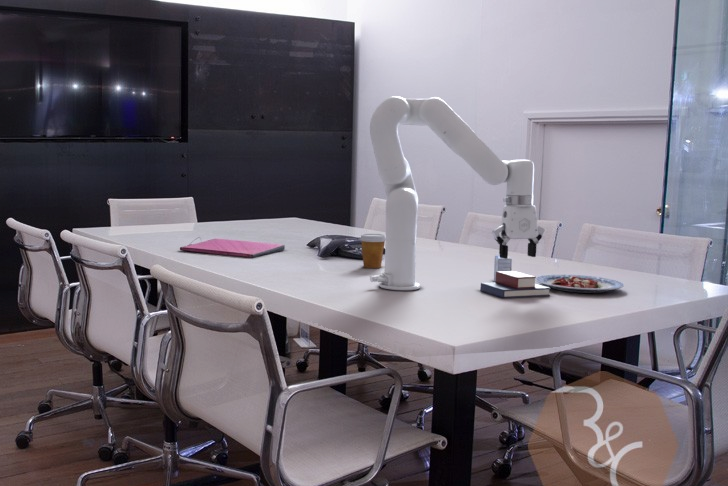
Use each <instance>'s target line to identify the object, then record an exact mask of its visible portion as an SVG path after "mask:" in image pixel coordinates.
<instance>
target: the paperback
mask: <svg viewBox="0 0 728 486" xmlns="http://www.w3.org/2000/svg"><path fill="white" fill-rule="evenodd" d="M536 277H537V276H535V275H531V274H528V273H524V272H519V271H516V270H512V271H498V272H496V280H495V281H494V282H495V283H498V284H502V285H505V286H508V287H512V288H515V289H527V288H535V284H536V281H535V278H536Z"/></svg>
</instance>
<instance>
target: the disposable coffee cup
mask: <svg viewBox="0 0 728 486" xmlns="http://www.w3.org/2000/svg"><path fill="white" fill-rule="evenodd" d="M359 240H360V242H361V243H360V244H361V253H362V263H363V267H364V268H367V269H381V268H382V264H383V263H382V261H383V255H384V251H385V249H384V248H385V243H386V234H382V233H361V235H360V237H359Z"/></svg>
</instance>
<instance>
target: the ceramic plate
mask: <svg viewBox="0 0 728 486" xmlns="http://www.w3.org/2000/svg"><path fill="white" fill-rule="evenodd" d="M535 277H536V278H535V282H536V283H538V284H540V285H544V286H547V287H549V288H552V289H555V290H558V291H563V292H568V293H569V292H570V293H571V292H572V293H579V294H598V293H606V292H608V291H611V290H618V289H619V290H620V289H622V288H623V287H624V286H625V284H624V283H623V282H621V281H618V280H615V279H611V278H606V277H601V276H592V275H580V274H544V275H539V276H535Z"/></svg>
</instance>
